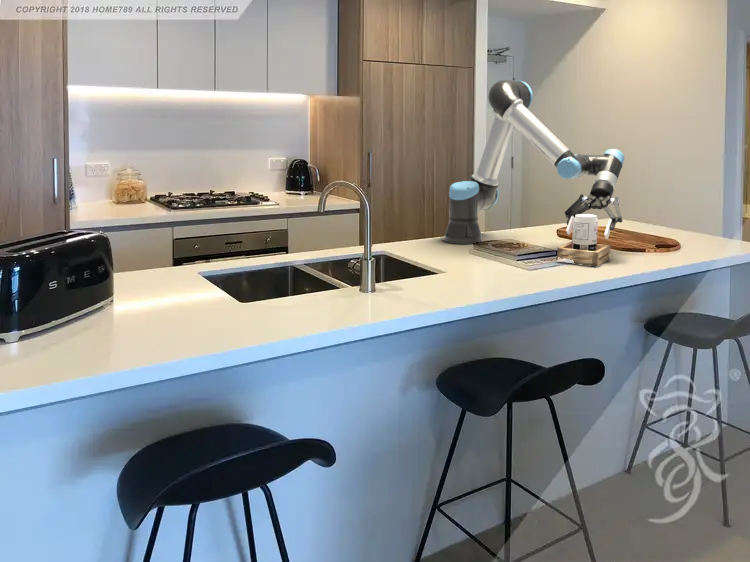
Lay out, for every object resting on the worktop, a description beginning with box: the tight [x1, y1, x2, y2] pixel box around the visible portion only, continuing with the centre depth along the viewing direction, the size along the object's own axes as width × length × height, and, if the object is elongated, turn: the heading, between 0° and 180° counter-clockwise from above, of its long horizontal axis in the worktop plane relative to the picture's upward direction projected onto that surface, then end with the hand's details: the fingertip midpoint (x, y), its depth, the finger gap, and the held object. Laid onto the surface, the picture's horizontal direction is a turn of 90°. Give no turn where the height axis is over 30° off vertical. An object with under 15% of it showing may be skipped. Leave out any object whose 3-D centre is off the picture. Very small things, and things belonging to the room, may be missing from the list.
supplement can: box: [571, 213, 599, 260], centre depth 243 cm, size 8×8×15 cm
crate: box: [556, 241, 611, 267], centre depth 244 cm, size 14×14×5 cm
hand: (586, 234), depth 243 cm, fingers open, 13 cm apart
